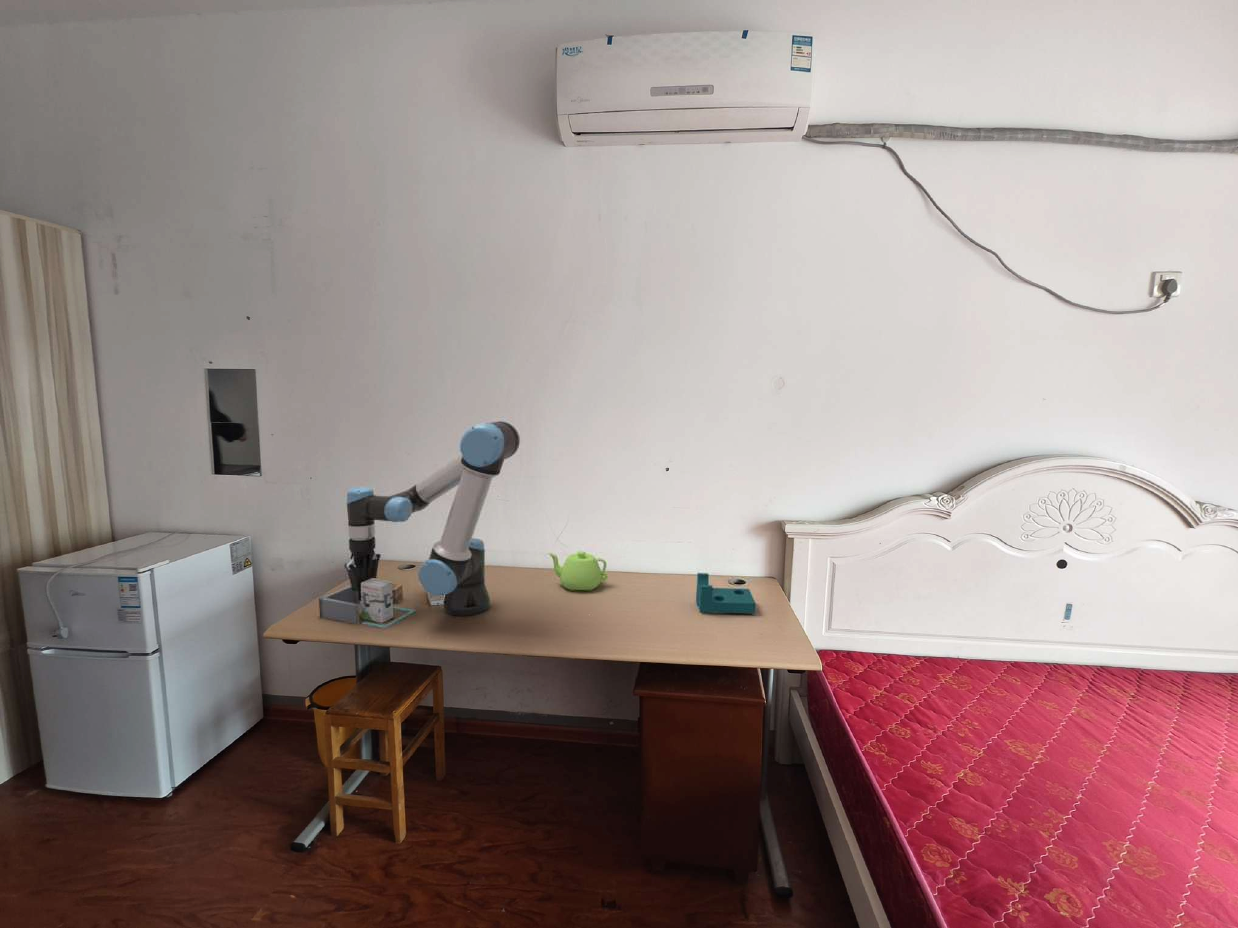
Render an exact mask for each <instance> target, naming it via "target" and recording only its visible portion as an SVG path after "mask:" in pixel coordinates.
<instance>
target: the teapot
mask: <svg viewBox="0 0 1238 928" xmlns="http://www.w3.org/2000/svg"><path fill="white" fill-rule="evenodd" d="M547 554H548V555H549V556H550V557H551V558H552V561H553V570H554V573H555V575H556V576H558V577H559V580H560V583H561V584H562V586H563V587H564V588H566V589H568V591H571V592H572V591H587V592H590V591H593V589H596V588H598V586H599V585H600V584H601V582H602V581H607V579H608V574H607V573H605V572H606V568H607V562H606V560H605V559H604V558H601V557H598V558H596V557H595V556H594V555H593V554H590V553H587V552H585V551H581V550H580V551H577V552H576V553H573V554H570V555H568V556H567V558H566V559H565V561H564V563H563V564H562V565H563V566H562V567H561V565H560V564H559V558H558V556H557V555H556V554H554V553H552V552H551V553H550V552H548V553H547ZM599 562H601V563H603V567H602V570H601V567H600V565H599Z"/></svg>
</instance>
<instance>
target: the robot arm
mask: <svg viewBox="0 0 1238 928" xmlns="http://www.w3.org/2000/svg"><path fill="white" fill-rule="evenodd" d="M520 443H521V439H520V434H519V432H518V429H516V428H515V426H513V425H512V424H510V423H508V422H506V421H503V420H502V421H501V420H499V421H494V422H493V421H492V422H483V423H478V424H475V425H474V426H473V425H472V426H471V427H470V428H468V429H467V430H466V431H465V432H464V433H463V435H462V436H461V439H460V443H459V450H460V451H459V452H460V453H461V454H460V455H458V456H457V457H455V458H453V459H452V460H450V461H449V462H447V463H446V464H445V465H443V466H442V467H440V468H439V469H437V470H436V471H433V473H431V474H429V475H427V477H425V478H424V479H422V480H421V481H419V482H418V483H417V484H414V485H413V486H412V487H410V488H408V489H407V490H405V491H401V492H398V493H395V494H393V495H386V496H385V495H375V494H374V489H373V488H371V487H366V486H364V487H363V486H361V487H360V486H359V487H353V488H350V489H349V490H348V491H347V492H346V510H347V519H348V520H347V525H348V527H347V528H348V529H347V530H348V538H349V539H348V549H349V551H350V552H351V555H350V561H349V562H348V563H344V565H343V566H344V568H345V570H346V571H347V575H348V578H349V579H348V580H349V582H350V585H351V587H352V590H354V591H358V600H359V601H360V603H359V610H360V611H362V610H361V583H362V582H364V581H366V580H369V579H371V578H377V575H378V567H379V561H380V559H381V554H380V553H376V552H375V549H376V537H375V535H376V524H375V521H381V522H392V523H403V522H406V521H408V520H409V518H410V517H411V516H412V514H414V513H416V512H420V511H422V510H424V509H425V508H427V507H428V506H429V505H430V504H431V503H432V502H434V501H435V500H437V499H439V498H440V497H442V496H444V495H445V494H446V493H448V492H450V491H451V490H452V489H454V488H456V487H457V489H456V492H455V495H454V498H453V501H452V503H451V507H450V511H449V513H448V516H447V520H446V522H445V525H444V529H443V531H442V534H441V536H440V537H441V538H440V540H438V541H436V542H434V543H433V546H432V548H431V551H430V554H429V557H428V559H427V560H425V561H424V562H423V563H422V564H421V565H420V567H419V569H418V580H419V582H420V584H421V585H422V588H423V589H424V590H425V591H426V592H428V593H429V594H430V595H433V596H438V597H441V596H442V597H443V596H444V598H443V601H442V611H444V613H446V614H449V615H451V616H460V617H462V616H463V617H464V616H466V617H467V616H473V615H478V614H481V613H484V612H485V611H487V610H488V609H490V607H491V597H490V596H489V592H488V589H487V586H486V582H485V581H486V580H485V567H486V566H485V553H486V550H485V543H484V541H483V540H481V539H480V538H475V537H473V536H474V534H475V530H476V527H477V525H478V522H479V518H480V516H481V513H482V511H483V507H484V504H485V502H486V499H487V495H488V492H489V489H490V487H491V486H490V485H491V483H492V481H493V479H494V478H495V477H497V476H499V475H500V473H501V470H502V468H503V464H504V461H505V460H508V459H509V458H511V457H512V456H513V455H515V454H516V453H517V451H518V450H519V447H520Z"/></svg>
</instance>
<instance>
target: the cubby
mask: <svg viewBox="0 0 1238 928" xmlns="http://www.w3.org/2000/svg"><path fill="white" fill-rule="evenodd" d="M359 604H360V601H359V600H358V591H354V590H352V587H351V584H350V585H348V586H345V587H343V588H341V589H338V590H336V591H334V592H332V593H329V594H327V595H324V596H321V597H320V598H318V606H319V607H318V608H319V618H323V619H328V620H333V621H337V622H343V623H347V624H353V625H358V624H359V623H360V618H359V617H360V615H359V613H360V612H359Z"/></svg>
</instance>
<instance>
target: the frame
mask: <svg viewBox="0 0 1238 928" xmlns="http://www.w3.org/2000/svg"><path fill="white" fill-rule="evenodd" d="M393 610H397V611H402V612H406V613H405V614H403V615H402V616H400V617H398V618H396V619H394V620H392V621H390V622H389V623H387V624H385V625H382V624H377V623H372V622H368V621H364V622H362V625H364V626H369V627H373V628H374V627H375V628H379V629H384V630H385V629H387V628H389V627H391V626H393V625H394V624H396V623H398V622H400V621H401V620H403V619H405V618H407V617H409V616H411V615H413V614H414V613H416V612H417V611H416V609H409V608H405V607H398V606H393Z"/></svg>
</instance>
